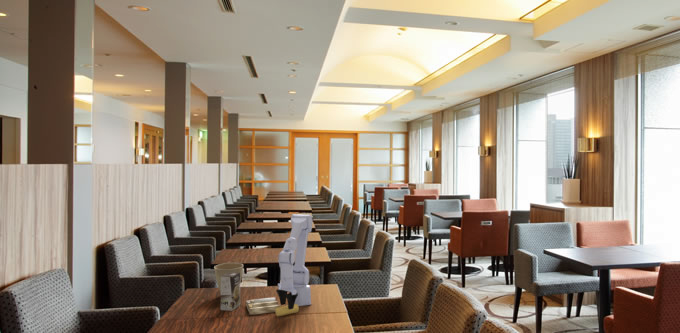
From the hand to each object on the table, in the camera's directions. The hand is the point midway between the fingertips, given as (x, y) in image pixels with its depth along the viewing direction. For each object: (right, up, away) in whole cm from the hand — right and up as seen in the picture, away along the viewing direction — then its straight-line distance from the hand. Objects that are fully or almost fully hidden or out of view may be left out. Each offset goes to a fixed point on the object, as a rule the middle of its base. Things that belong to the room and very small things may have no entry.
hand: (287, 306), depth 208 cm
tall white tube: (-12, -2, +11) cm, 17 cm away
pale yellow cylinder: (0, -2, 0) cm, 2 cm away
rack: (-12, -3, +8) cm, 15 cm away
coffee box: (-28, -4, +10) cm, 30 cm away
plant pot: (-34, -4, +28) cm, 44 cm away
